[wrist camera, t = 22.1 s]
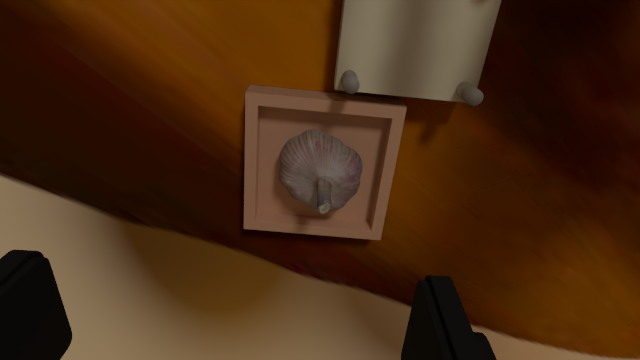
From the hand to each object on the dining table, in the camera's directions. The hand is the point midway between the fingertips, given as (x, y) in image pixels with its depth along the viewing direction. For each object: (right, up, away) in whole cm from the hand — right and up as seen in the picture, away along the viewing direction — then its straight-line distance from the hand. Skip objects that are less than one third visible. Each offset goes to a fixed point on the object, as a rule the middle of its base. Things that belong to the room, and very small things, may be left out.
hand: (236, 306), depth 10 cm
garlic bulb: (+2, +5, +26) cm, 27 cm away
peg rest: (+9, +16, +21) cm, 28 cm away
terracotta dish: (+2, +5, +27) cm, 27 cm away
